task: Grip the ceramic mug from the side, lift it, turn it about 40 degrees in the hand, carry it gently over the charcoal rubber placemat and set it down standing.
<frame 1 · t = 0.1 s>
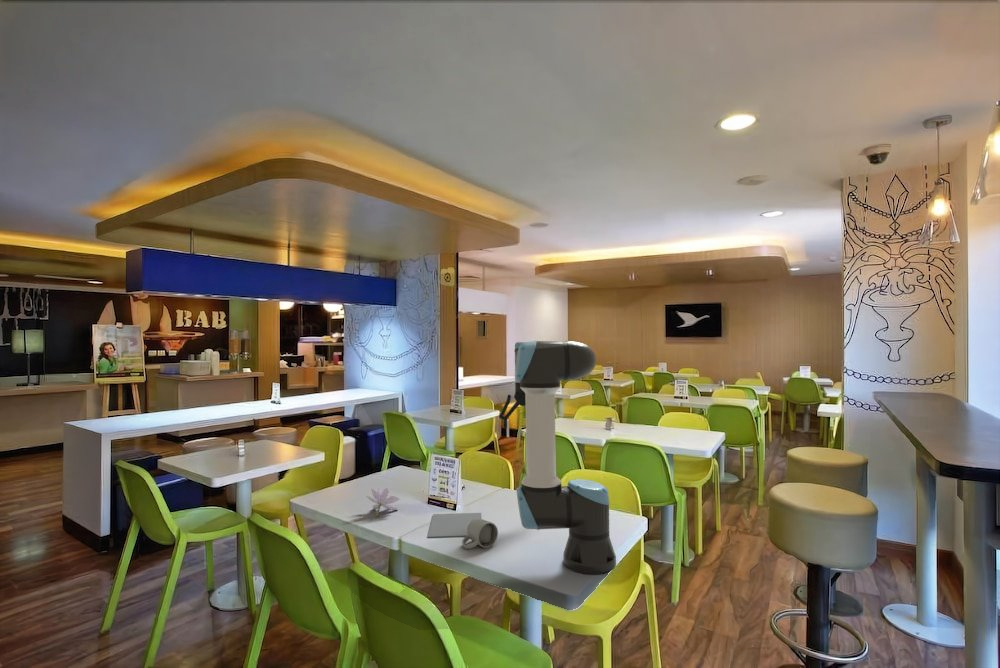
hand: (525, 436, 196), 28 cm above the table, tool pointing down, fingers open, 13 cm apart
placemat: (456, 525, 179), on the table
phone case: (448, 492, 220), on the table
ceramic mug: (478, 545, 162), on the table
water lily: (384, 513, 194), on the table
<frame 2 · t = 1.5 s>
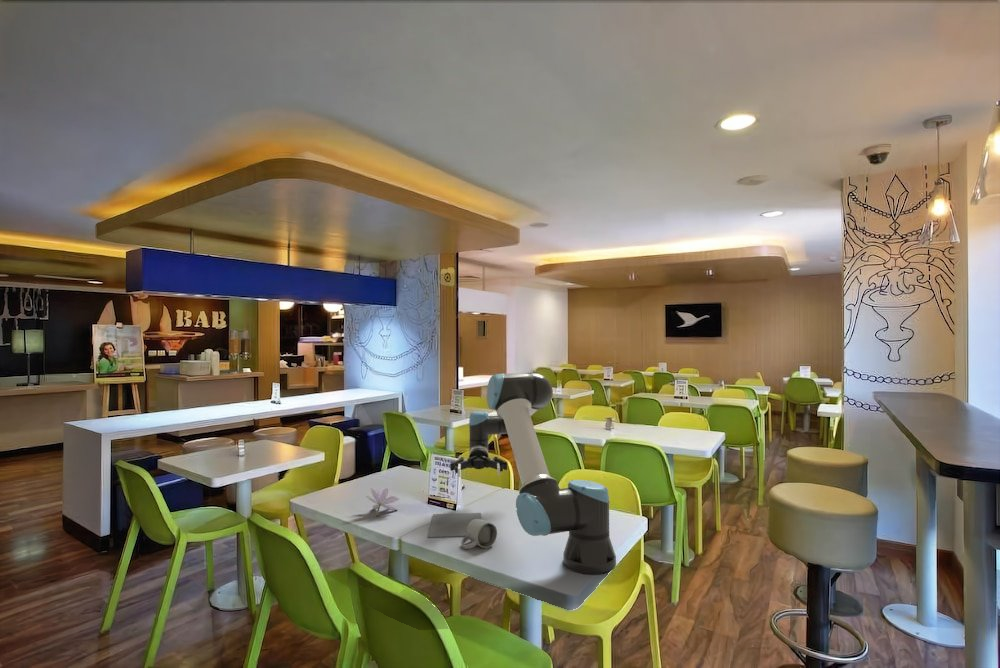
hand: (478, 472, 172), 20 cm above the table, tool horizontal, fingers open, 13 cm apart
nothing on the table moved.
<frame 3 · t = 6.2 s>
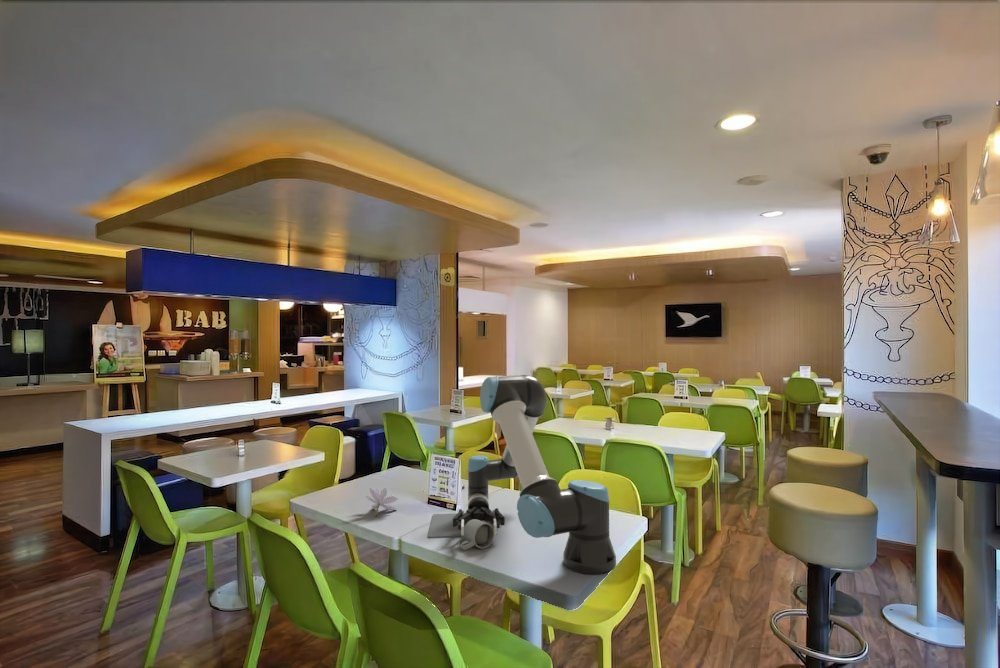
hand: (479, 530, 158), 6 cm above the table, tool horizontal, fingers closed on ceramic mug, 10 cm apart
ceramic mug: (475, 546, 161), on the table, touching gripper
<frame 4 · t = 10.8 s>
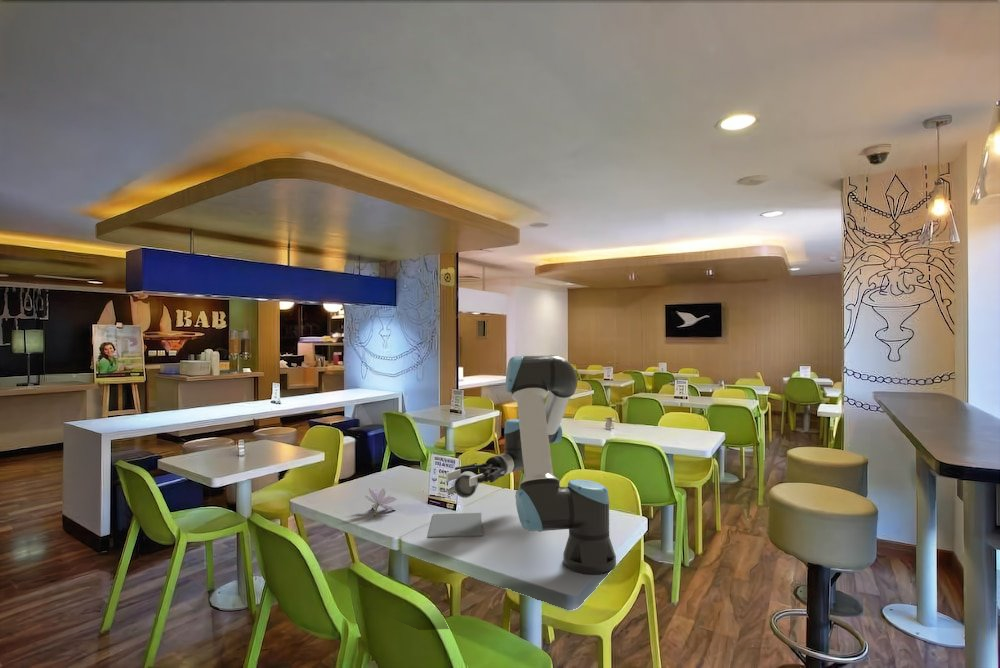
hand: (458, 479, 169), 19 cm above the table, tool horizontal, fingers closed on ceramic mug, 10 cm apart
ceramic mug: (462, 495, 173), point 13 cm above the table, touching gripper
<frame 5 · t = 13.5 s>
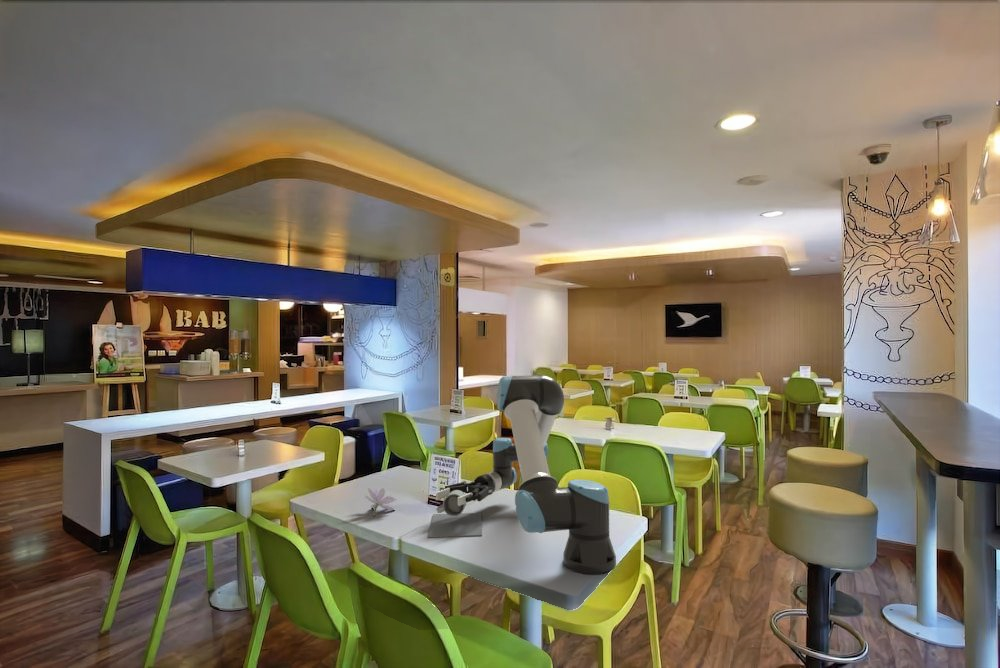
hand: (447, 498, 176), 10 cm above the table, tool horizontal, fingers closed on ceramic mug, 10 cm apart
ceramic mug: (451, 513, 180), point 4 cm above the table, touching gripper
when the fingers open (7 cm above the table, at t = 15.7 s): ceramic mug stays where it is, resting on placemat.
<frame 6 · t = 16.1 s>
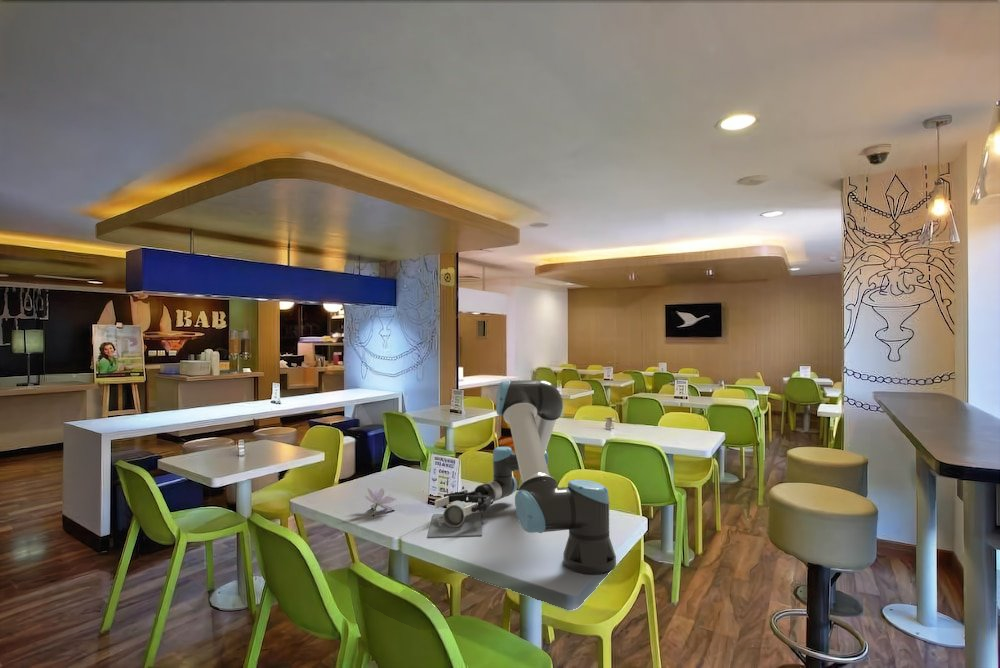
hand: (449, 508, 177), 7 cm above the table, tool horizontal, fingers open, 13 cm apart
ceramic mug: (452, 524, 180), resting on placemat
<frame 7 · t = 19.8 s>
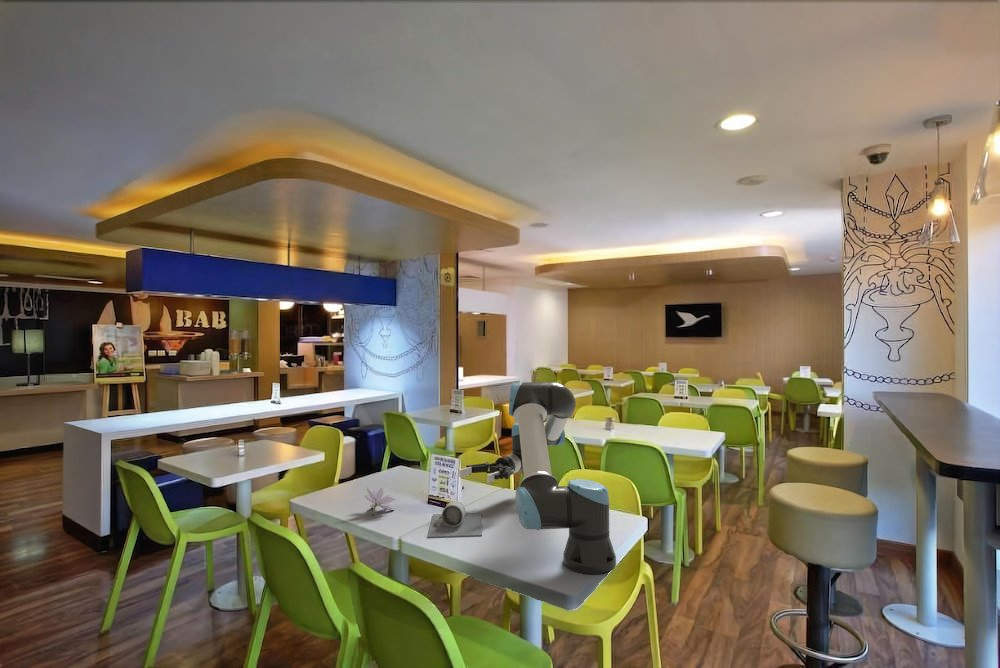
hand: (473, 476, 188), 15 cm above the table, tool horizontal, fingers open, 13 cm apart
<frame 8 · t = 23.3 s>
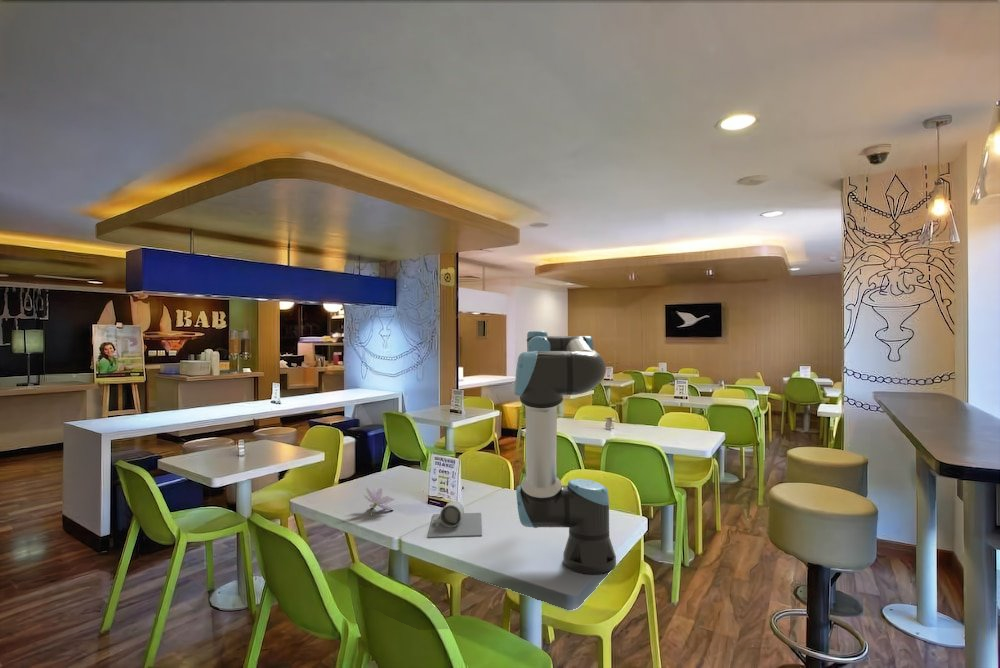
hand: (538, 433, 182), 32 cm above the table, tool pointing down, fingers open, 13 cm apart
at the end: ceramic mug inside the target area on the placemat (2.5 cm from its centre), point 0.2 cm above the placemat's base; ceramic mug tilted 0°; the gripper is holding nothing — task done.
